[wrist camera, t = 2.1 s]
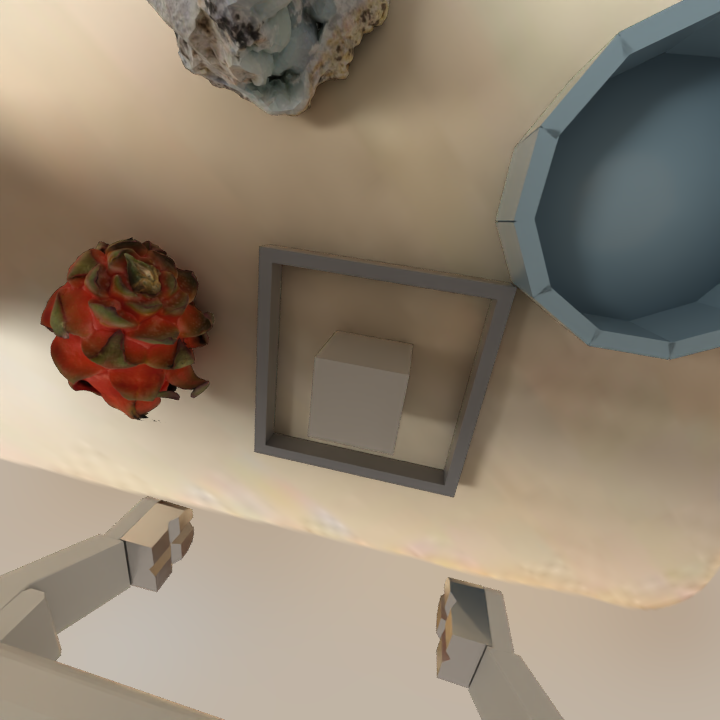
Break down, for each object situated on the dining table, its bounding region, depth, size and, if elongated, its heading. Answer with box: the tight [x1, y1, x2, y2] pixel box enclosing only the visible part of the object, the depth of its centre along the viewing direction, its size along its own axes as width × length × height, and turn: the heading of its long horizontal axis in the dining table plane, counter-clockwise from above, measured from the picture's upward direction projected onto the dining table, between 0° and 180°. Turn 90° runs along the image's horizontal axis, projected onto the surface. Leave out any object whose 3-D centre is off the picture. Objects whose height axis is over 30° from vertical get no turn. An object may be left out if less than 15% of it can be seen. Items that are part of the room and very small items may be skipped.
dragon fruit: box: [41, 237, 214, 421], centre depth 22 cm, size 8×8×12 cm
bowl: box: [495, 0, 720, 360], centre depth 16 cm, size 13×13×4 cm
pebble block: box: [308, 331, 413, 455], centre depth 22 cm, size 5×5×5 cm
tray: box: [254, 245, 517, 497], centre depth 23 cm, size 14×14×2 cm
